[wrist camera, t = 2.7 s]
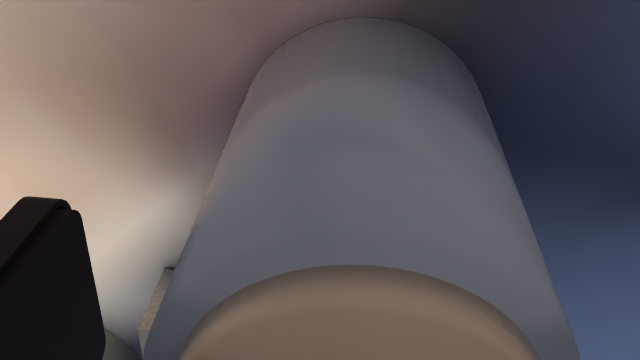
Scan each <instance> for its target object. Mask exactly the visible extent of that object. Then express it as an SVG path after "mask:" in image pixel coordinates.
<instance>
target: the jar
mask: <svg viewBox="0 0 640 360" xmlns="http://www.w3.org/2000/svg"><path fill="white" fill-rule="evenodd" d="M143 360H581V359H580V355H579V352H578V349H577V345H576V343H575V340H574V337H573V335H572V332H571V330H570V327H569V324H568V322H567V319H566V316H565V314H564V311H563V308H562V306H561V303H560V301H559V298H558V295H557V293H556V290H555V287H554V285H553V282H552V279H551V277H550V274H549V272H548V269H547V266H546V264H545V261H544V258H543V256H542V253H541V250H540V248H539V245H538V243H537V240H536V237H535V235H534V232H533V229H532V227H531V224H530V221H529V219H528V216H527V214H526V211H525V208H524V206H523V203H522V200H521V198H520V195H519V192H518V190H517V187H516V185H515V182H514V179H513V177H512V174H511V171H510V169H509V166H508V163H507V161H506V158H505V155H504V153H503V150H502V148H501V145H500V142H499V140H498V137H497V134H496V132H495V129H494V126H493V124H492V121H491V119H490V116H489V113H488V111H487V108H486V105H485V103H484V100H483V97H482V95H481V92H480V90H479V87H478V85H477V83H476V81H475V79H474V77H473V75H472V74H471V72H470V71H469V69H468V68H467V67H466V65H465V64H464V62H463V61H462V60H461V59H460V58H459V57H458V56H457V55H456V54H455V53H454V52H453V51H452V50H451V49H450V48H449V47H448V46H446V45H445V44H444V43H442V42H441V41H440V40H439V39H437V38H435V37H433V36H432V35H430V34H428V33H427V32H425V31H423V30H420V29H418V28H416V27H413V26H411V25H408V24H405V23H401V22H397V21H394V20H389V19H381V18H374V17H355V18H347V19H339V20H335V21H331V22H327V23H323V24H320V25H317V26H315V27H312V28H310V29H308V30H305V31H303V32H302V33H300V34H298V35H296V36H295V37H293V38H291V39H290V40H288V41H287V42H286V43H284V44H283V45H282V46H280V47H279V48H278V49H277V50H276V51H275V52H274V53H273V54H272V55H271V56H270V57H269V58H268V59H267V60H266V61H265V62H264V64H263V65H262V67H261V68H260V69H259V71H258V72H257V73H256V75H255V77H254V79H253V81H252V83H251V85H250V87H249V89H248V92H247V94H246V96H245V99H244V101H243V104H242V106H241V109H240V111H239V114H238V116H237V118H236V121H235V123H234V126H233V128H232V131H231V133H230V136H229V138H228V140H227V143H226V145H225V148H224V150H223V153H222V155H221V158H220V160H219V162H218V165H217V167H216V170H215V172H214V175H213V177H212V180H211V182H210V184H209V187H208V189H207V192H206V194H205V197H204V199H203V201H202V204H201V206H200V209H199V211H198V214H197V216H196V219H195V221H194V223H193V226H192V228H191V231H190V233H189V236H188V238H187V241H186V243H185V245H184V248H183V250H182V253H181V255H180V258H179V260H178V263H177V265H176V267H175V270H174V272H173V275H172V277H171V280H170V282H169V285H168V287H167V289H166V292H165V294H164V297H163V299H162V302H161V304H160V307H159V309H158V311H157V314H156V316H155V319H154V321H153V324H152V326H151V329H150V331H149V334H148V337H147V340H146V343H145V346H144V353H143Z"/></svg>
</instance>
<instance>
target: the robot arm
mask: <svg viewBox="0 0 640 360" xmlns="http://www.w3.org/2000/svg"><path fill="white" fill-rule="evenodd" d="M105 346H106V337H105V331H104V326H103V321H102V316H101V311H100V306H99V301H98V296H97V291H96V286H95V281H94V277H93V272H92V267H91V262H90V257H89V252H88V247H87V242H86V237H85V232H84V227H83V222H82V218H81V215H80V213H79V212H78V211H76V210H71V207H70V205H69V204H68V202H67V201H65V200H63V199H52V198H41V197H29V196H28V197H23V198H22V199H21V200H19V201H18V202H17V203H16V204H15V205H14V206H13V207H12V209H11V210H10V211H9V212H8V213H7V214H6V215H5V216H4V217H3V218H2V219H1V220H0V360H102V358H103V355H104V352H105Z"/></svg>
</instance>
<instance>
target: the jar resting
mask: <svg viewBox="0 0 640 360" xmlns="http://www.w3.org/2000/svg"><path fill="white" fill-rule="evenodd" d="M104 331H105V337H106V346H105V352H104V355H103V358H102V360H141V359H140V358H139V357H138V355H137V354H136V353H135V352H134V351H133V350H132V349H131V348H130V347H129V346H128V345H127V344H126V343H125V342H124V341H122V340H121V339H120V338H118V337H117V336H116V335H114V334H113V333H112V332H110V331H109V330H107V329H105V328H104Z"/></svg>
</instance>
